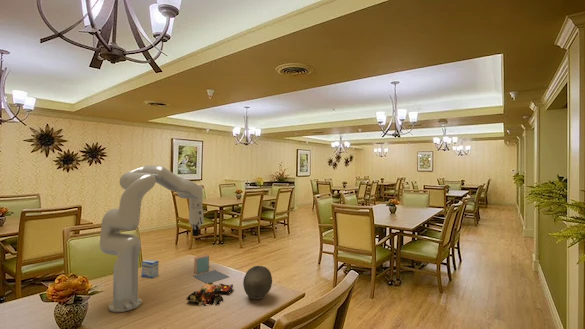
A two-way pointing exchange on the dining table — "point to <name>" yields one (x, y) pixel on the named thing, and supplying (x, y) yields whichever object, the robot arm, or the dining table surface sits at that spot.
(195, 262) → the tile
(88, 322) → the dining table surface
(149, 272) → the medicine box
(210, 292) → the food
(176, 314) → the dining table surface
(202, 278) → the mat
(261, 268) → the dark round vase
